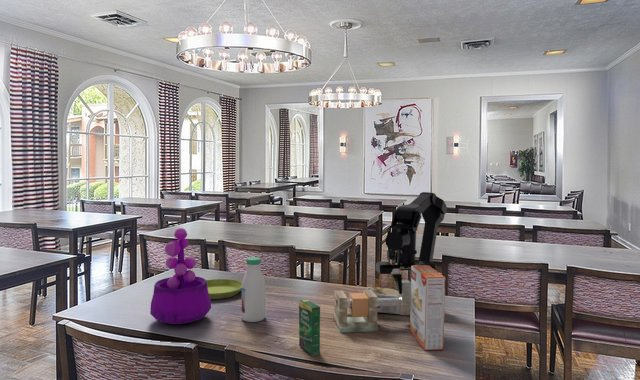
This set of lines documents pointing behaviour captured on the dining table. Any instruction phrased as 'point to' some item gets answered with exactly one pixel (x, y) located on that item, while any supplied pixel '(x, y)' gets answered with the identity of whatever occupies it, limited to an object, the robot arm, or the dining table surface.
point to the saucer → (223, 288)
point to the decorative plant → (180, 288)
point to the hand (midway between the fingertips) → (404, 293)
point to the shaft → (396, 299)
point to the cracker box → (427, 307)
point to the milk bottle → (253, 292)
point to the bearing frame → (355, 323)
